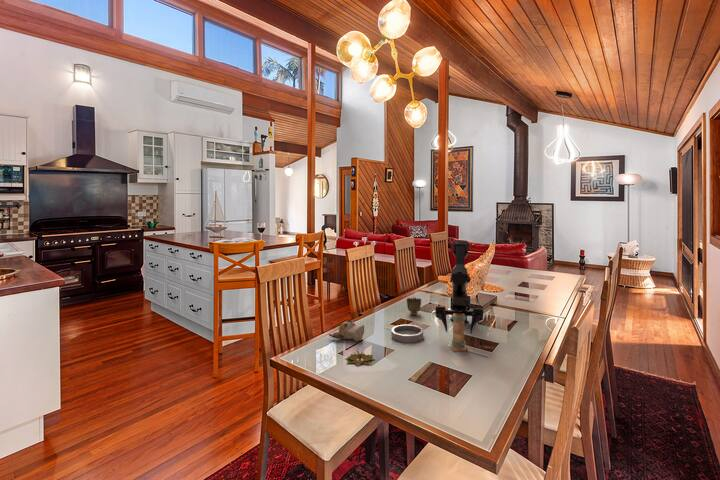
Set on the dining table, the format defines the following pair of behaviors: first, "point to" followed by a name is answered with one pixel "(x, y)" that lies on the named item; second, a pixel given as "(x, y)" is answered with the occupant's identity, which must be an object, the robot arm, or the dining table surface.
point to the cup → (413, 305)
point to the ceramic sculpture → (349, 331)
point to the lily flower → (359, 356)
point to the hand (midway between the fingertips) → (458, 332)
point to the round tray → (407, 333)
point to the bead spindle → (458, 333)
